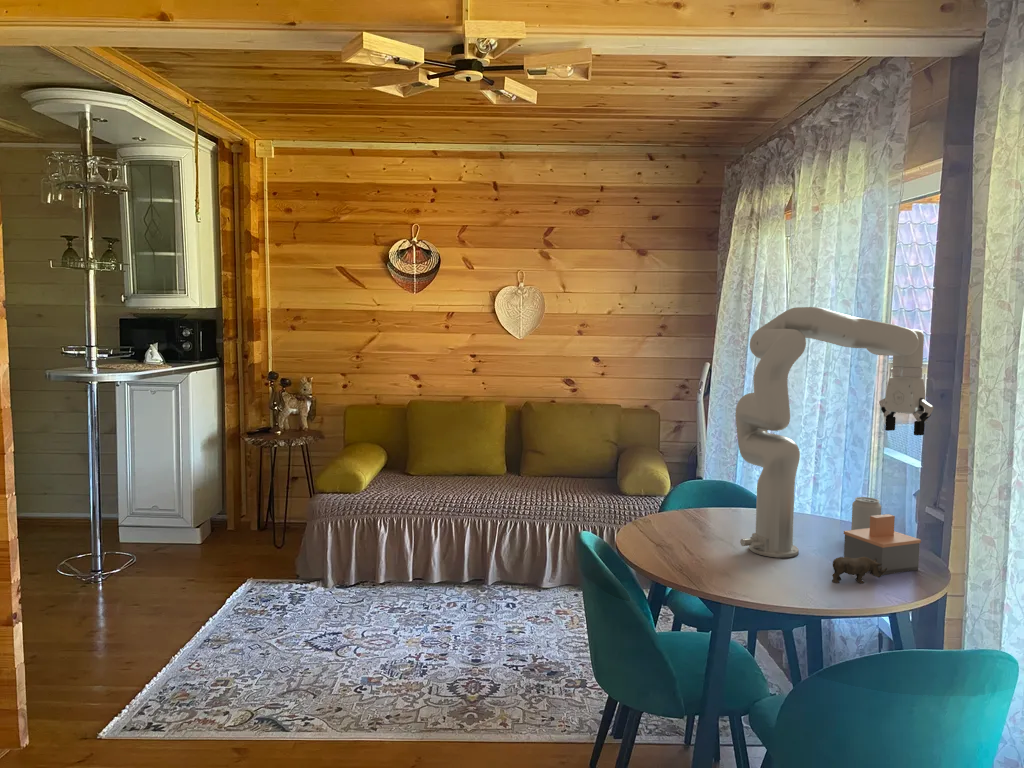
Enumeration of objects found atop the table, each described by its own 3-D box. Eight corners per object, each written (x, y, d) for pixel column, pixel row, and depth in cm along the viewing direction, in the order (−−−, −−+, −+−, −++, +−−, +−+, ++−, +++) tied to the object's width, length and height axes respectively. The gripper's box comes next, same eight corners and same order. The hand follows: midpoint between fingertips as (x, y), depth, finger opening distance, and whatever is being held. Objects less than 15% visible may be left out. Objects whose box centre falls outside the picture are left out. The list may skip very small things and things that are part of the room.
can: (877, 545, 203) (878, 503, 202) (848, 540, 207) (849, 499, 206) (882, 539, 209) (884, 498, 208) (854, 534, 213) (855, 494, 212)
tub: (881, 575, 178) (882, 547, 178) (843, 560, 189) (844, 534, 189) (918, 570, 182) (919, 542, 182) (879, 555, 193) (880, 530, 193)
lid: (882, 551, 177) (883, 524, 177) (843, 537, 189) (844, 512, 188) (920, 546, 182) (921, 520, 181) (880, 533, 193) (881, 508, 193)
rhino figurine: (891, 584, 172) (893, 559, 172) (834, 584, 172) (835, 559, 171) (882, 578, 176) (883, 553, 176) (826, 578, 176) (827, 554, 176)
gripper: (872, 371, 214) (869, 429, 215) (923, 375, 198) (920, 437, 199) (891, 371, 217) (888, 428, 218) (944, 374, 200) (940, 436, 202)
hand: (904, 432), depth 209 cm, fingers open, 9 cm apart
